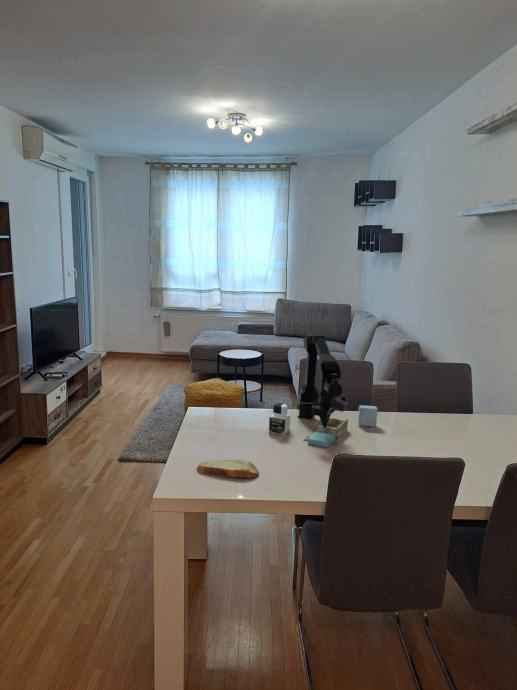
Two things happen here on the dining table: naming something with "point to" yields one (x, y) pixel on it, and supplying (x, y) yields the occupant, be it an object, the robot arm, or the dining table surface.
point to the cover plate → (321, 438)
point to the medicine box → (367, 416)
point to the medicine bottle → (279, 419)
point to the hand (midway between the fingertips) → (325, 427)
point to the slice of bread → (229, 468)
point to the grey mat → (330, 444)
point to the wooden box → (333, 426)
